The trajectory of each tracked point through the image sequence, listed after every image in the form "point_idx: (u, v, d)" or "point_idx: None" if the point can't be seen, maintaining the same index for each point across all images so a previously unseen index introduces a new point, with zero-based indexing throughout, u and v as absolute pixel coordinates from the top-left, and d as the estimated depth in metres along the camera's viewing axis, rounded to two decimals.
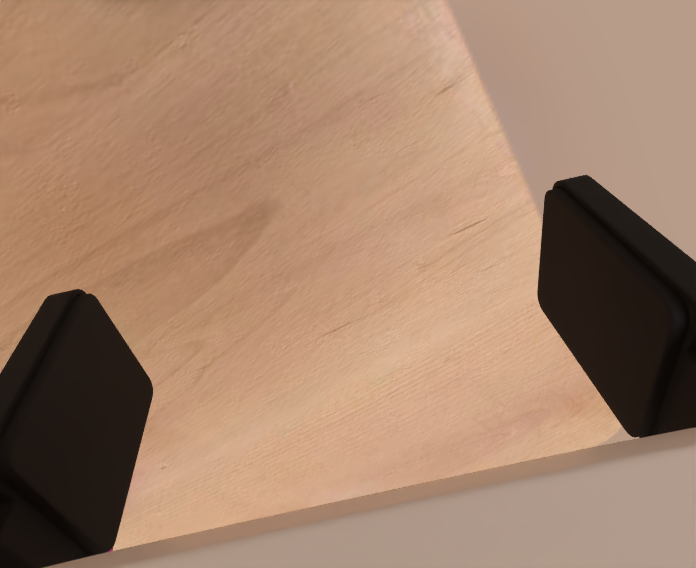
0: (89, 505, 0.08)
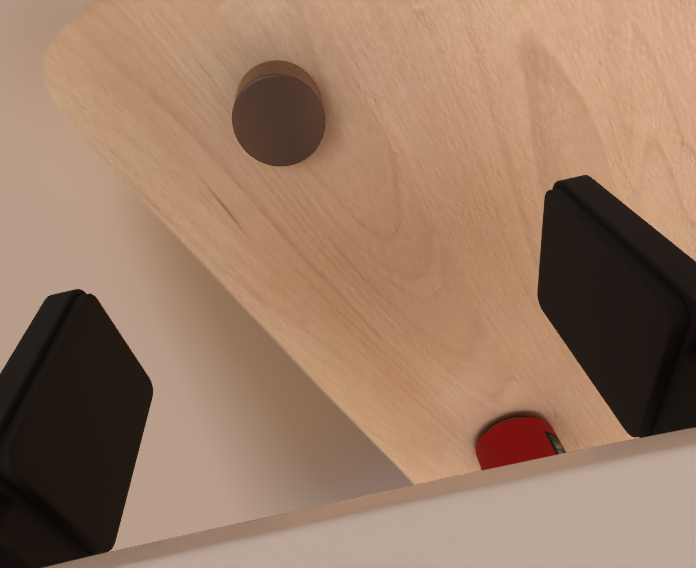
0: (89, 505, 0.08)
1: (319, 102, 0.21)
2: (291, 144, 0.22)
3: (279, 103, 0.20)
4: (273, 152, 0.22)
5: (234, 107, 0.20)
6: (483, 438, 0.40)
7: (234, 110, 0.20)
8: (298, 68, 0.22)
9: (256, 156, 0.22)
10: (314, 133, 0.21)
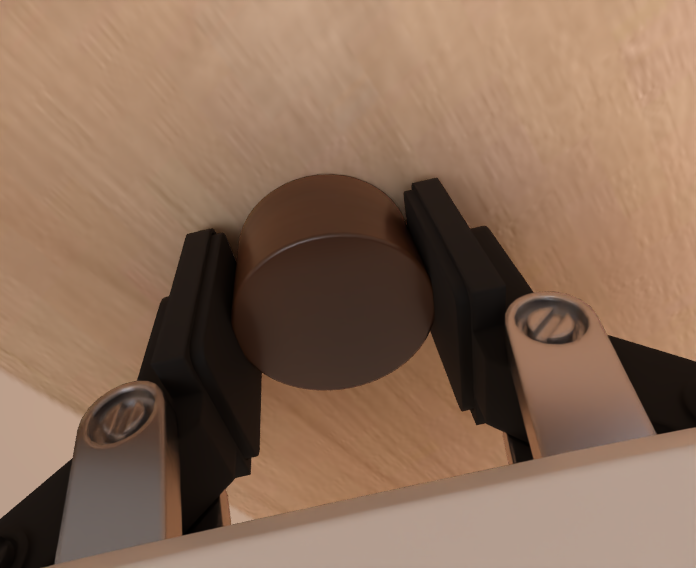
0: (244, 412, 0.09)
1: (427, 279, 0.09)
2: (361, 355, 0.10)
3: (339, 288, 0.09)
4: (321, 370, 0.10)
5: (235, 302, 0.09)
6: None
7: (235, 307, 0.09)
8: (369, 190, 0.10)
9: (285, 380, 0.10)
10: (410, 333, 0.10)
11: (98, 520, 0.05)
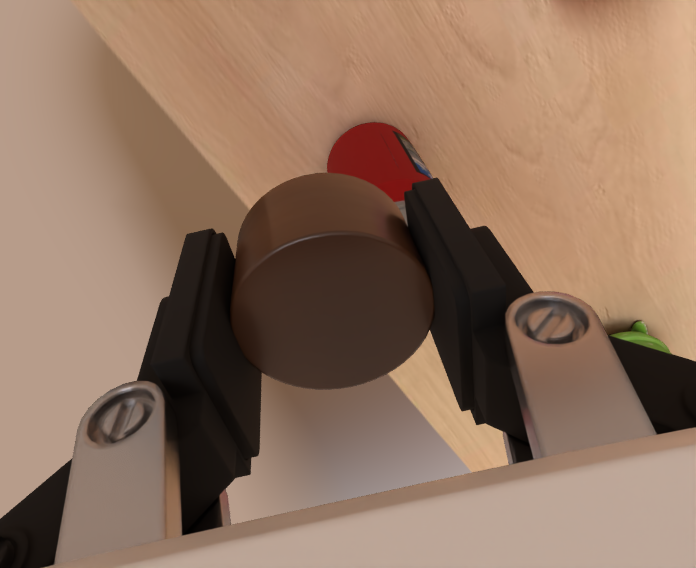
0: (243, 412, 0.09)
1: (427, 277, 0.09)
2: (361, 354, 0.10)
3: (338, 287, 0.09)
4: (320, 369, 0.10)
5: (234, 301, 0.09)
6: (330, 152, 0.35)
7: (234, 306, 0.09)
8: (369, 188, 0.10)
9: (284, 379, 0.10)
10: (410, 332, 0.10)
11: (98, 520, 0.05)
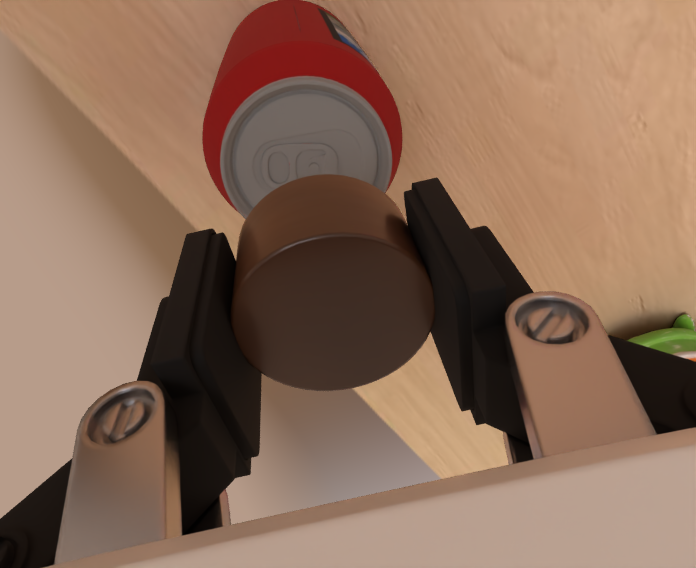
0: (243, 412, 0.09)
1: (428, 279, 0.09)
2: (361, 356, 0.10)
3: (339, 288, 0.09)
4: (321, 371, 0.10)
5: (235, 303, 0.09)
6: None
7: (235, 308, 0.09)
8: (369, 189, 0.10)
9: (285, 380, 0.10)
10: (411, 333, 0.10)
11: (98, 520, 0.05)
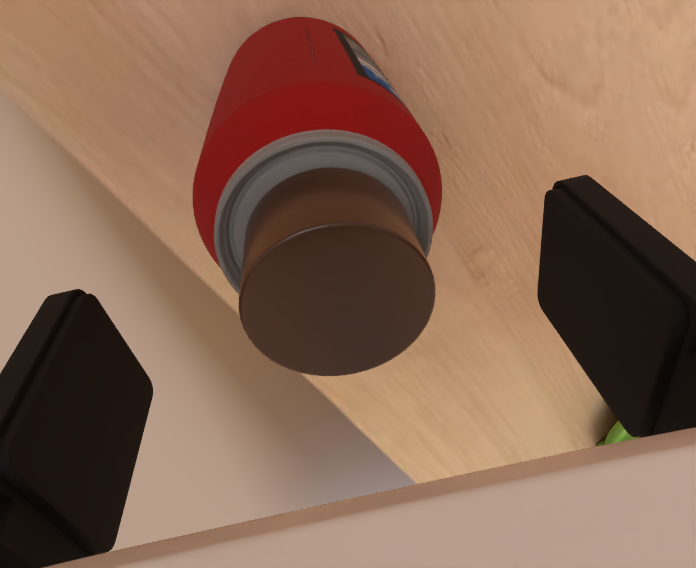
0: (89, 505, 0.08)
1: (427, 267, 0.09)
2: (363, 341, 0.10)
3: (342, 275, 0.09)
4: (325, 356, 0.11)
5: (243, 289, 0.09)
6: None
7: (243, 294, 0.09)
8: (371, 182, 0.10)
9: (290, 365, 0.11)
10: (411, 320, 0.10)
11: None
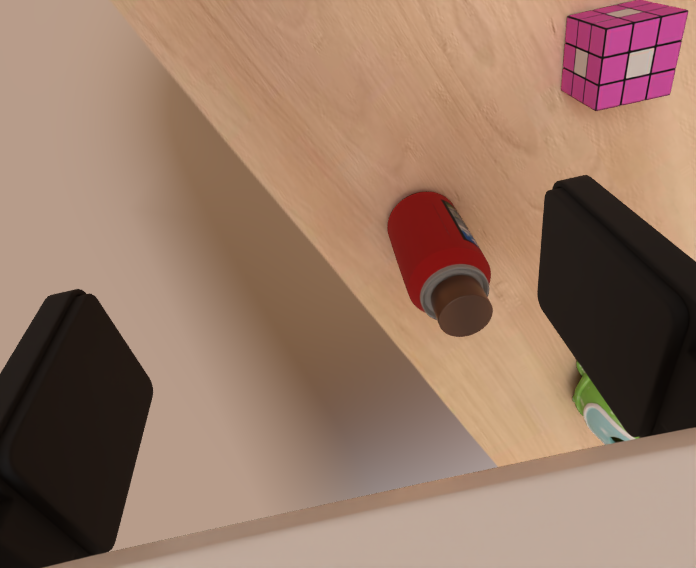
0: (89, 505, 0.08)
1: (490, 305, 0.35)
2: (471, 326, 0.36)
3: (468, 307, 0.35)
4: (459, 330, 0.36)
5: (442, 311, 0.35)
6: (391, 214, 0.45)
7: (441, 313, 0.35)
8: (473, 279, 0.36)
9: (449, 333, 0.36)
10: (485, 319, 0.36)
11: None
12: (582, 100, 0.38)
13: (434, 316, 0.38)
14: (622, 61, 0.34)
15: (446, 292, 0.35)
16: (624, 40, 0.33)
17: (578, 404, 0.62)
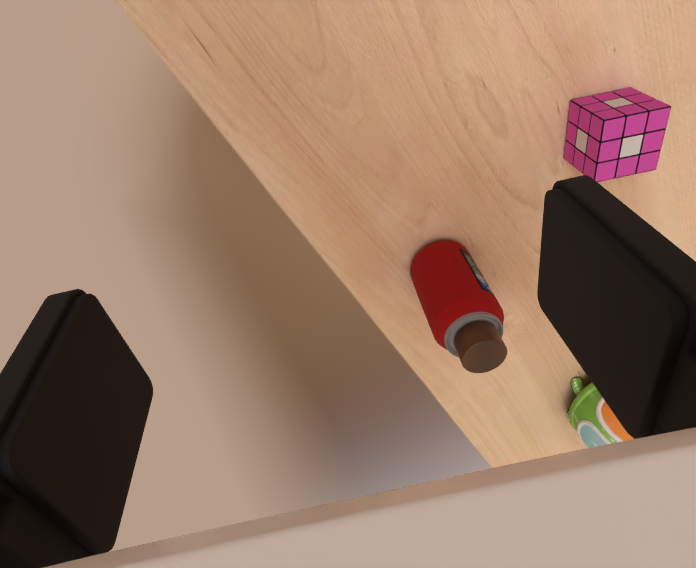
0: (89, 505, 0.08)
1: None
2: (488, 364, 0.42)
3: (487, 350, 0.41)
4: (478, 368, 0.42)
5: (465, 353, 0.41)
6: (414, 259, 0.51)
7: (464, 354, 0.41)
8: (490, 325, 0.42)
9: (469, 370, 0.42)
10: (500, 359, 0.42)
11: None
12: (582, 171, 0.44)
13: (455, 354, 0.45)
14: (616, 144, 0.41)
15: (468, 336, 0.41)
16: (618, 129, 0.40)
17: (573, 420, 0.69)
